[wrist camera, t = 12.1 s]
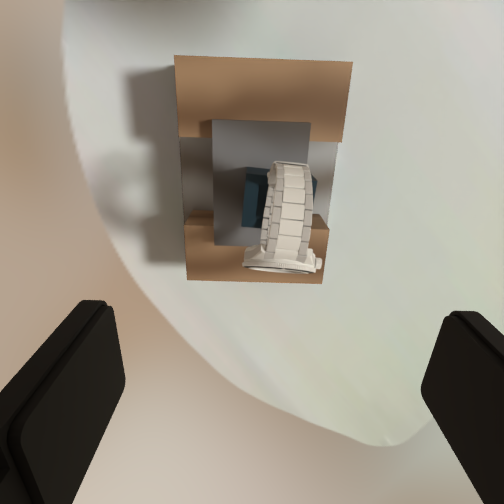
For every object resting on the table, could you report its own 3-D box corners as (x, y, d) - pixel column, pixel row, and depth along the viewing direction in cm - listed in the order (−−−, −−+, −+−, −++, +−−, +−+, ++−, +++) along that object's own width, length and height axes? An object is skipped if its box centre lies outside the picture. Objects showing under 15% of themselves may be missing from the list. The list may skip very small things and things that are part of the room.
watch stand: (177, 64, 30) (157, 52, 24) (345, 70, 31) (370, 60, 24) (187, 255, 39) (174, 285, 32) (320, 259, 39) (334, 290, 32)
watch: (240, 235, 30) (234, 299, 20) (249, 144, 27) (247, 167, 17) (299, 241, 30) (323, 307, 20) (315, 152, 27) (354, 178, 17)
